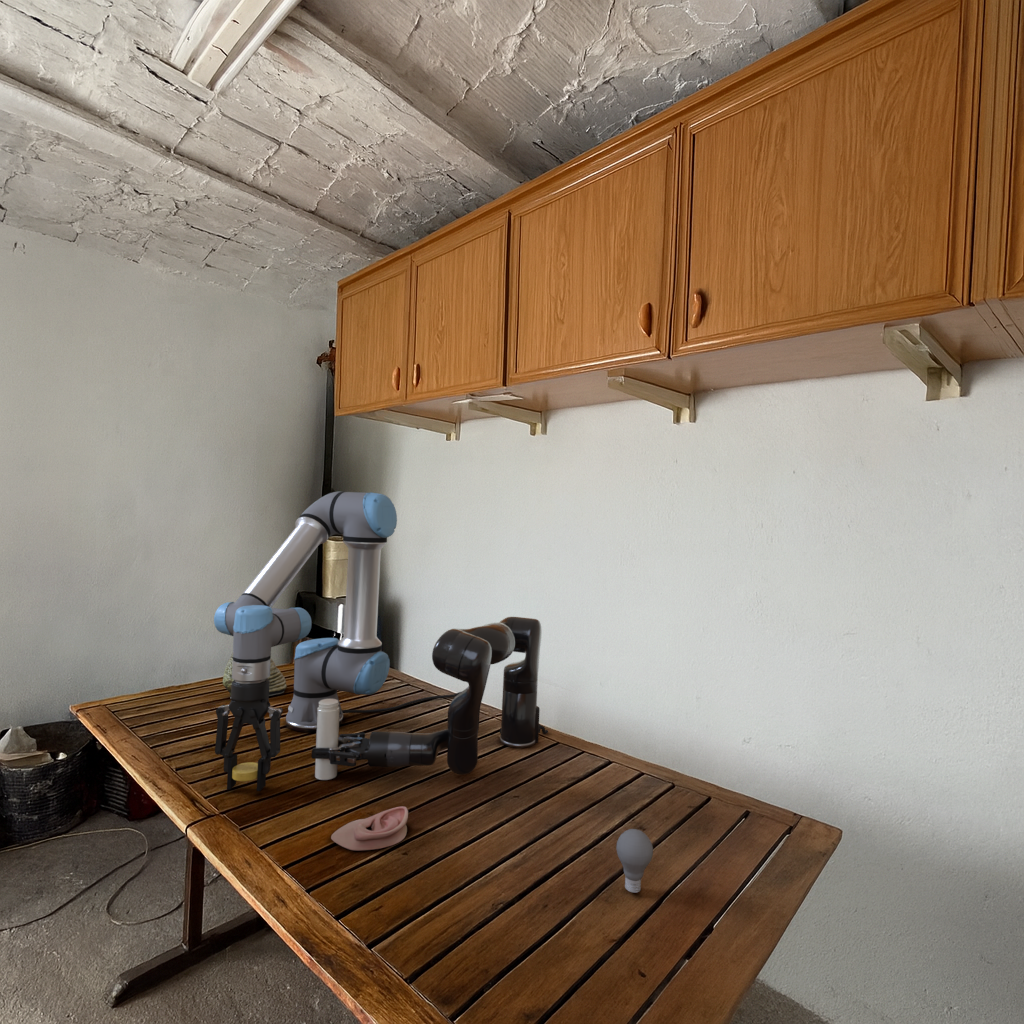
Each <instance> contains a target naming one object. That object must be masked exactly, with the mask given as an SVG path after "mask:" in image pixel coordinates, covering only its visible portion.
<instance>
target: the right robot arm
mask: <svg viewBox="0 0 1024 1024" xmlns="http://www.w3.org/2000/svg"><path fill="white" fill-rule="evenodd" d="M542 630H543V629H542V623H541V622H540V620H539V619H537V618H531V617H522V616H520V617H519V616H507V617H504V618H502V619H501V620H500V621H498V622H490V623H486V624H483V625H480V626H475V627H469V628H450V629H447V630H446V631H445V632H443V633H442V634H441V635H440V636H439V637H438V639H437V641H436V642H435V643H434V646H433V648H432V653H431V658H432V659H431V660H432V664H433V666H434V667H435V669H437V671H439V672H440V673H442V674H444V675H446V676H449V677H452V678H454V679H457V680H459V681H461V682H465V683H467V684H468V685H467V687H466V688H465V689H464V690H462V691H460V692H461V693H460V694H458V695H457V696H455V697H453V699H452V700H451V702H450V704H449V705H448V708H447V728H445V729H442V730H437V731H433V732H430V733H421V732H420V733H418V732H417V733H416V732H415V733H413V732H406V731H405V732H403V731H371V733H370V735H369V738H367V737H366V732H351V733H339V738H338V747H335V748H330V749H329V748H316V747H313V748H312V749H311V759H314V760H315V759H329V760H330V764H335V765H337V766H343V767H344V766H346V767H356V766H357V761H364V760H367V765H368V767H370V768H373V767H374V768H400V767H401V768H402V767H430V766H433V765H434V764H435V762H436V760H437V756H438V754H439V753H440V752H441V751H444V750H446V751H447V752H446V755H447V756H446V764H447V767H448V769H449V770H450V771H451V772H452V773H453V774H454V775H455V774H456V775H458V776H466V775H468V774H470V773H472V772H473V771H474V770H475V769H476V768H477V765H478V761H479V760H478V759H479V737H478V735H479V729H480V716H481V715H480V714H481V705H482V702H483V698H484V694H485V690H486V687H487V682H488V677H489V674H490V669H491V665H497V664H499V663H501V662H503V661H505V660H506V659H508V658H509V657H511V655H512V654H513V653H519V654H520V653H521V654H525V656H524V658H523V659H521V660H518V661H515V662H511V663H508V664H506V665H505V666H504V668H503V674H502V675H503V678H502V696H501V697H502V699H501V719H500V720H501V722H500V723H501V725H500V729H499V734H500V737H499V741H500V743H501V744H502V745H504V746H505V747H509V748H515V749H527V748H530V747H533V746H534V745H536V744H538V743H539V734H541V733H542V734H543V735H546V734H548V733H549V730H548V729H546V727H545V726H543V725H541V724H540V713H541V712H540V711H541V709H540V706H538V685H539V684H538V683H539V668H540V656H541V655H540V654H541V645H542V644H541V643H542Z"/></svg>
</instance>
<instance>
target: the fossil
mask: <svg viewBox="0 0 1024 1024" xmlns="http://www.w3.org/2000/svg"><path fill="white" fill-rule="evenodd" d="M232 666H233V652H232V653H231V656H230V657H229V659H228V660H227V663H226V666H225V668H224V671H223V675H222V676H223V677H222V685H223V687H224V688H225V690H226V691H228V693H229V698H230V699H231V686H232V682H233V681H234V680H233V679H232ZM268 679H269V680H270V685H269V697H271V696H275V695H281V694H284V693H285V691H286V689H287V687H288V686H287V680H286V678H285V676H284V674H283V673H282V672H281V669H279V668H278V667H277V665H276V663H275V662H274V660H273V659H272V658H270V676H269V677H268Z"/></svg>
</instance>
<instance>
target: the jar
mask: <svg viewBox="0 0 1024 1024" xmlns="http://www.w3.org/2000/svg"><path fill="white" fill-rule="evenodd" d="M339 702H340V701H339ZM339 702H338V700H336V699H323V700H321V701H319V705H318V706H319V707H318V708H317V732H315V748H329V749H330V748H335V747H338V738H339V735H340V725H339V712H340V707H339V706H338V705H339ZM314 760H315V762H314V777H315V779H316V780H320V781H328V780H332V779H335V778H336V777H337V776H338V765H335V764H330V760H329V759H314Z"/></svg>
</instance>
